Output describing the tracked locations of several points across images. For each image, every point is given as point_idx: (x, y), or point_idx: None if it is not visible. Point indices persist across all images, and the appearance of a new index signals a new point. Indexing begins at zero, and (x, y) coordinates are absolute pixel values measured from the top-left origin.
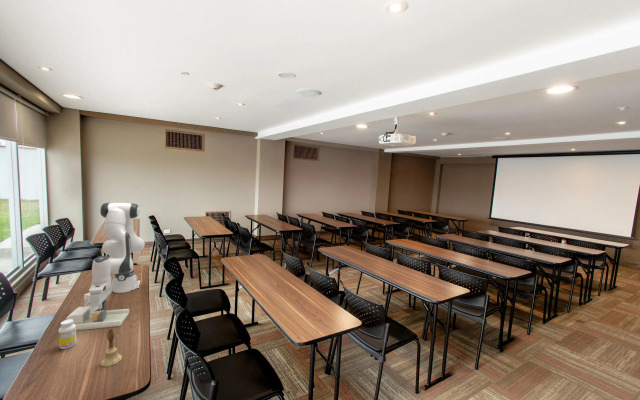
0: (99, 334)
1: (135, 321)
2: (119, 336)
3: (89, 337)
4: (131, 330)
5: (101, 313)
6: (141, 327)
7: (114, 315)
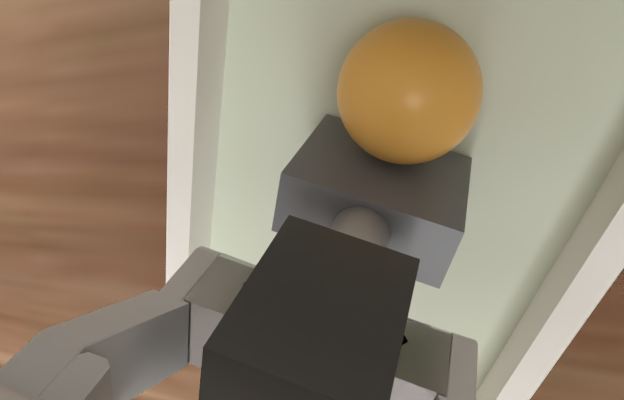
0: (65, 124)
1: None
2: (19, 266)
3: (15, 31)
4: None
5: (311, 215)
6: None
7: (466, 290)
